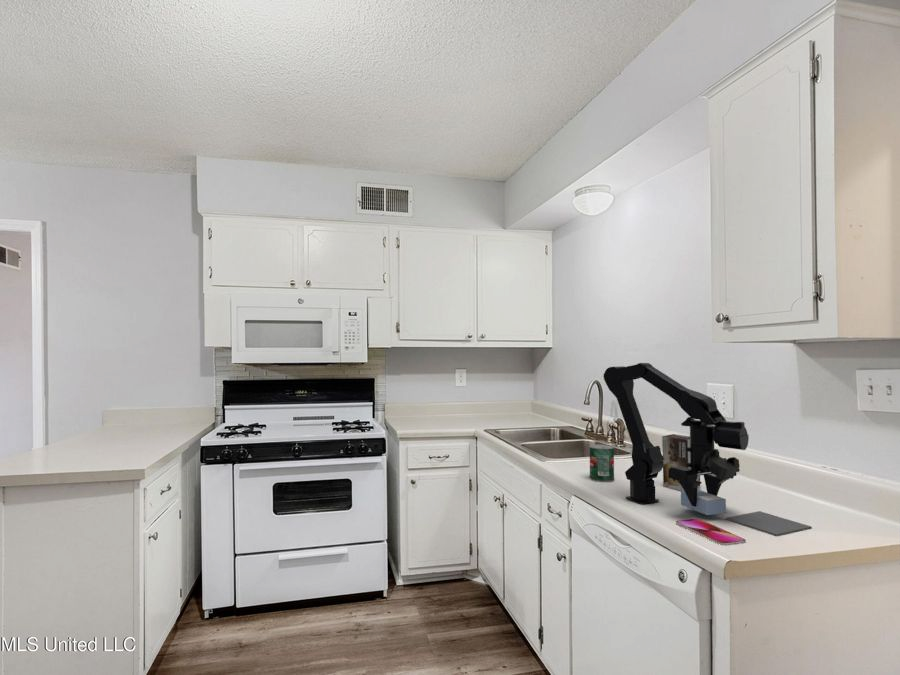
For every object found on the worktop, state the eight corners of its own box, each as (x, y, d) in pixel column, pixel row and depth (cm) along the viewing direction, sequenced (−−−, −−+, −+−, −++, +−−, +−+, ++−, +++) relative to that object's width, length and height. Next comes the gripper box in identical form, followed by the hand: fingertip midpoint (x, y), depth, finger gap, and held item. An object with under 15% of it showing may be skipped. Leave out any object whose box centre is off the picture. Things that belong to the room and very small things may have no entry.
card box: (681, 504, 135) (680, 491, 136) (699, 502, 137) (699, 489, 137) (706, 515, 127) (706, 500, 127) (725, 513, 128) (725, 498, 128)
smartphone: (721, 544, 111) (673, 520, 125) (721, 548, 110) (673, 524, 125) (748, 540, 113) (698, 518, 127) (748, 544, 113) (698, 522, 127)
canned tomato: (585, 477, 171) (584, 444, 172) (604, 475, 174) (604, 443, 174) (598, 483, 164) (598, 449, 164) (619, 481, 166) (619, 447, 167)
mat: (725, 519, 128) (725, 517, 128) (759, 512, 133) (759, 511, 133) (776, 536, 116) (776, 534, 116) (811, 528, 121) (811, 526, 122)
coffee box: (701, 490, 155) (700, 437, 156) (688, 493, 152) (687, 439, 152) (674, 483, 163) (673, 433, 164) (662, 486, 160) (661, 435, 160)
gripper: (703, 453, 121) (704, 518, 121) (755, 447, 129) (756, 508, 128) (666, 445, 131) (667, 505, 131) (716, 440, 139) (717, 497, 139)
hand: (703, 504), depth 132 cm, fingers closed on card box, 6 cm apart
